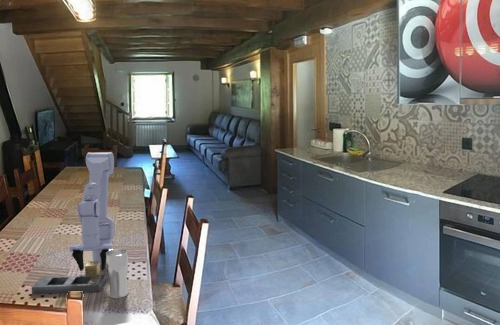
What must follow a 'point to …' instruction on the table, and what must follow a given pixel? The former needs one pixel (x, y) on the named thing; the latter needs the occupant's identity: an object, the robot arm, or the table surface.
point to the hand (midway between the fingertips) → (92, 269)
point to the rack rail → (68, 284)
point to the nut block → (92, 268)
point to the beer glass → (117, 272)
